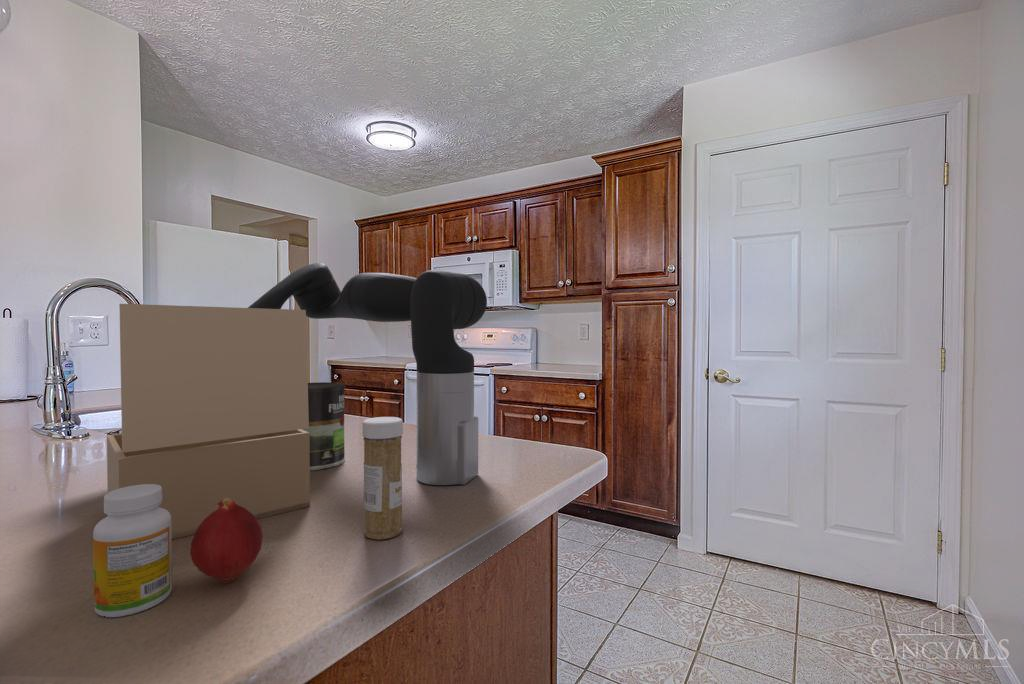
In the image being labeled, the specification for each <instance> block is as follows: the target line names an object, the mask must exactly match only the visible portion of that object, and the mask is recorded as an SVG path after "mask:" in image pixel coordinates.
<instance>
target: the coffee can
mask: <svg viewBox="0 0 1024 684" xmlns="http://www.w3.org/2000/svg"><path fill="white" fill-rule="evenodd" d="M345 388H346V384H345V383H342V382H327V381H326V382H322V381H321V382H308V411H309V428H306V429H302V430H304V431H307V432H309V433H310V471H318V470H320V471H321V470H326V469H327V470H328V469H330V468H334V467H337V466H340V465H342V464H344V462H345V461H346V459H345Z"/></svg>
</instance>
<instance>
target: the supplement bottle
mask: <svg viewBox="0 0 1024 684" xmlns="http://www.w3.org/2000/svg"><path fill="white" fill-rule="evenodd" d="M161 502H162V487H161V486H160V485H156V484H142V485H134V486H128V487H124V488H120V489H116V490H113V491H111V492H109V493H108V492H107V493H105V495H104V496H103V513H104V514H105V515H107V516H106V517H104V518H103V519H101V520H99V522H97V523H96V525H95V526H94V528H93V532H92V548H93V549H92V555H93V556H92V559H93V560H92V561H93V563H92V564H93V565H92V566H93V567H92V568H93V570H92V571H93V574H92V576H93V605H94V606H93V608H94V609H93V610H94V611H95V613H96V614H97V615H99V616H101V617H104V616H105V618H119V617H120V618H121V617H126V615H127V616H130V615H134V614H137V613H140V612H143V611H146V610H148V609H151V608H153V607H155V606H156V605H159V604H160V603H162V602H163V601H164V600H166V599H168V597H169V596H170V595H171V592H172V590H173V547H172V545H173V543H172V541H173V540H172V523H171V515H170V513H169V512H168V511H167V510H166V509H164V508H160V507H159V505H160V504H161Z"/></svg>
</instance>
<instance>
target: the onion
mask: <svg viewBox="0 0 1024 684" xmlns="http://www.w3.org/2000/svg"><path fill="white" fill-rule="evenodd" d="M218 505H219V507H218V509H217V510H215V511H214V512H212V513H211V514H210V515H209V516H208V517H206V518H205V519H204V520H203V522H202V523H201V524H200V525H199V527H198V528H197V530H196V532H195V534H193V537H192V540H191V543H190V552H189V554H190V558H191V562H192V563H193V565H194V566H195V567H196V569H198V571H200V572H201V573H203V574H204V575H205V576H207V577H210V578H213V579H215V580H217V581H219V582H220V583H222V584H229V583H231V582H233V581H234V580H236V579H237V578H238V577H239V576H240V575H241V574H243V573H244V572H245V571H246V570H247V569H248V568H250V567H251V565H252V564H253V563H254V562H255V560H257V558H258V555H259V553H260V551H261V549H262V545H263V544H262V542H263V535H264V534H263V529H262V527H263V526H261V523H260V521H259V519H257V518H256V517H255V516H254V515H253V514H252V513H250V512H249V511H248V510H247V509H246V508H244V507H242V506H239V505H237V504H235V502H234V501H233V500H231V499H229V498H224V499H222V500H221V501H220V502H219V503H218Z"/></svg>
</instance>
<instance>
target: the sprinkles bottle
mask: <svg viewBox="0 0 1024 684" xmlns="http://www.w3.org/2000/svg"><path fill="white" fill-rule="evenodd" d="M403 424H404V421H403V419H402V418H401V417H397V416H378V417H376V416H375V417H371V418H367V419H364V420H363V422H362V437H363V442H364V443H363V451H364V453H363V455H364V456H363V507H364V529H363V535H364V536H365V537H366V538H368V539H372V540H377V541H378V540H387V539H388V540H389V539H392V538H394V537H396V536H398V535H399V534H401V532H402V531H403V529H404V525H403V516H402V513H403V511H402V509H403V508H402V507H403V506H402V503H403V475H402V474H403V469H402V468H403V467H402V465H403V464H402V437H403V434H404V425H403Z"/></svg>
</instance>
